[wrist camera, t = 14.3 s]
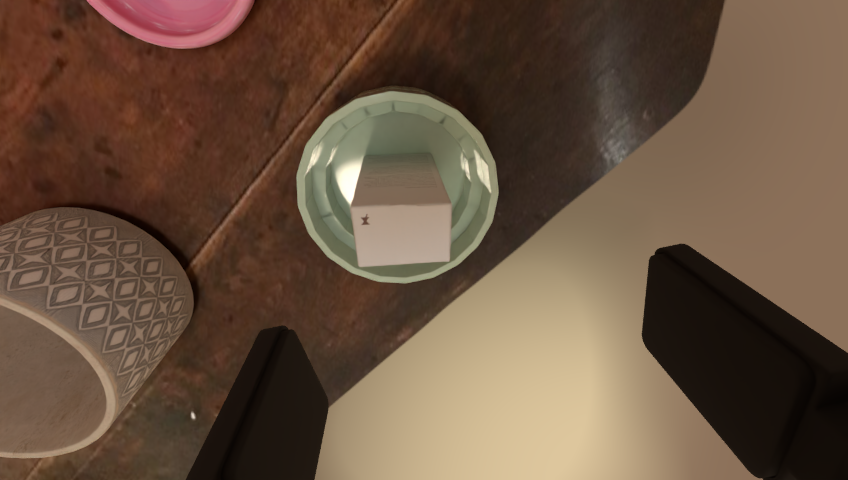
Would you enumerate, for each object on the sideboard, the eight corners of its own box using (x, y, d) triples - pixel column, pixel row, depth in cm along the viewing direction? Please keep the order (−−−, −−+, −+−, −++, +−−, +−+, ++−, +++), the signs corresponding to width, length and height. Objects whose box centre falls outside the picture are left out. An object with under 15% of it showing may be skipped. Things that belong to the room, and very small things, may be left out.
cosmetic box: (368, 200, 33) (354, 269, 23) (363, 154, 31) (347, 205, 21) (434, 198, 34) (451, 264, 23) (433, 151, 32) (453, 200, 21)
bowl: (468, 67, 29) (485, 69, 24) (490, 231, 36) (506, 262, 31) (287, 108, 30) (263, 119, 25) (342, 263, 37) (333, 298, 31)
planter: (219, 338, 40) (149, 450, 29) (62, 347, 39) (-74, 466, 28) (169, 197, 33) (49, 273, 21) (-26, 205, 32) (-260, 288, 20)
